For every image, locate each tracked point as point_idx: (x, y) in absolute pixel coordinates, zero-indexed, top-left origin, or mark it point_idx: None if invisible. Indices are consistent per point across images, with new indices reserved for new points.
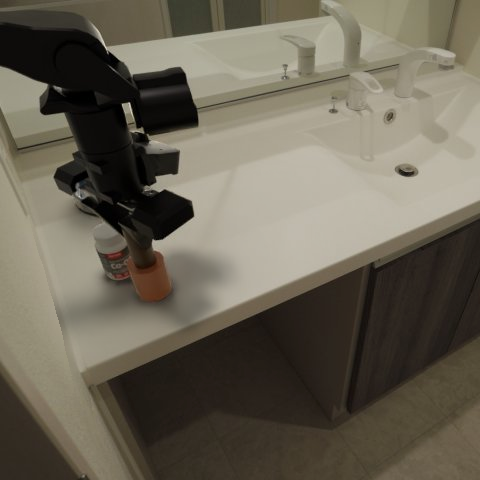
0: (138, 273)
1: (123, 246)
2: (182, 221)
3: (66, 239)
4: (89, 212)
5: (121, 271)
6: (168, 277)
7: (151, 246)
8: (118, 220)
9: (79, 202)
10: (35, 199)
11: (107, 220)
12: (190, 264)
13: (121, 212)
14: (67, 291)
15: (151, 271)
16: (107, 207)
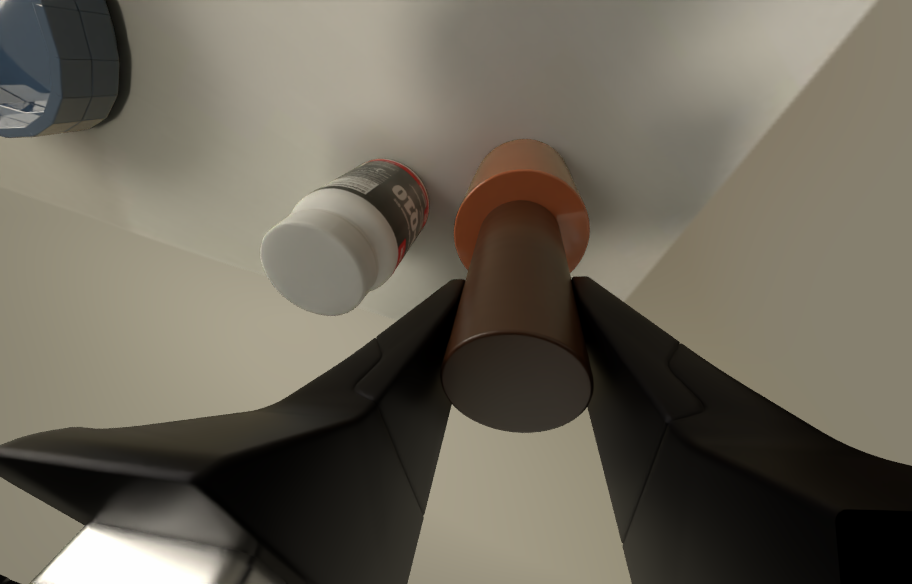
0: None
1: (391, 238)
2: None
3: (204, 221)
4: (99, 122)
5: (419, 232)
6: (565, 167)
7: (560, 252)
8: (431, 419)
9: (45, 134)
10: (8, 185)
11: (429, 492)
12: (531, 19)
13: (410, 431)
14: (375, 304)
15: (578, 256)
16: (386, 569)
